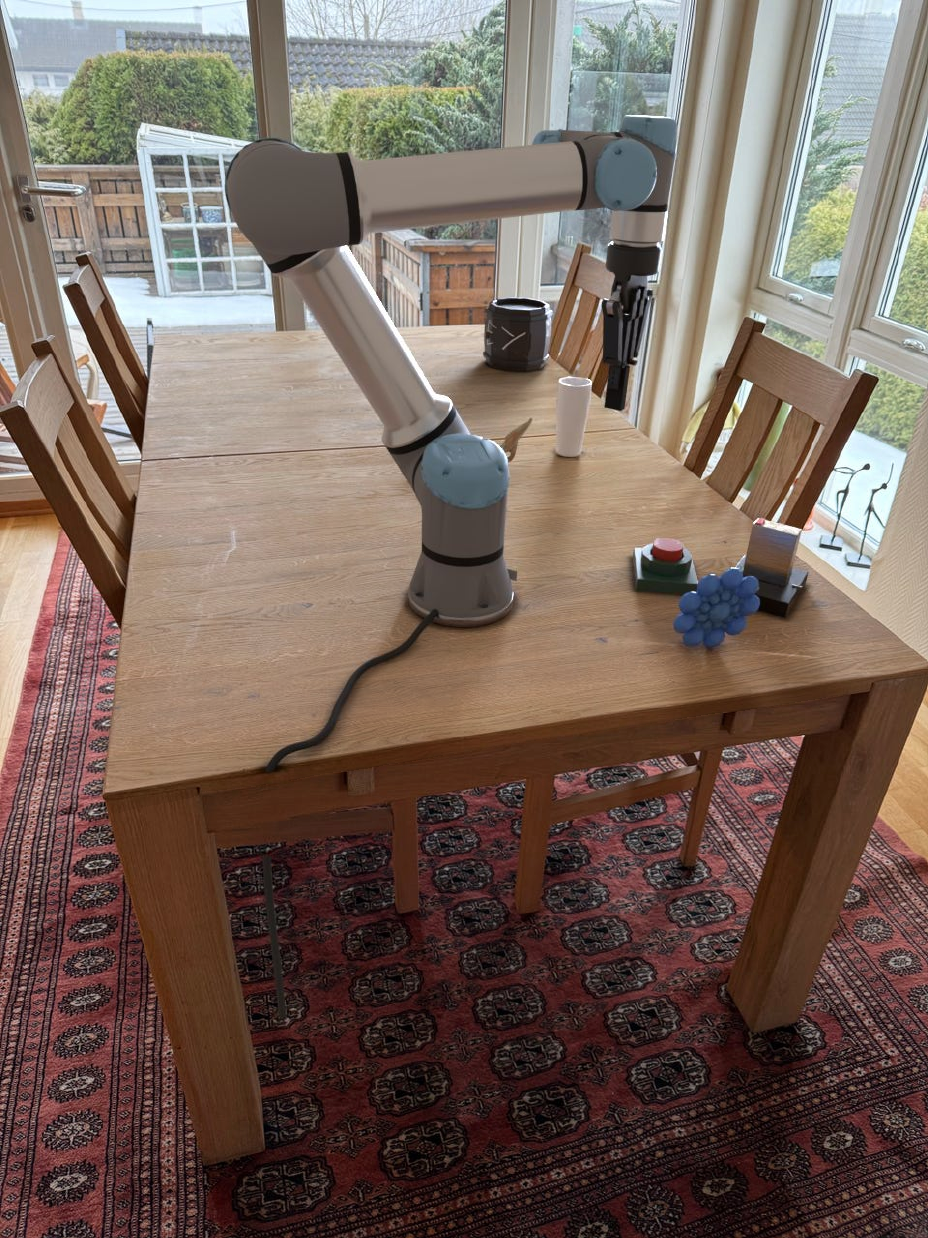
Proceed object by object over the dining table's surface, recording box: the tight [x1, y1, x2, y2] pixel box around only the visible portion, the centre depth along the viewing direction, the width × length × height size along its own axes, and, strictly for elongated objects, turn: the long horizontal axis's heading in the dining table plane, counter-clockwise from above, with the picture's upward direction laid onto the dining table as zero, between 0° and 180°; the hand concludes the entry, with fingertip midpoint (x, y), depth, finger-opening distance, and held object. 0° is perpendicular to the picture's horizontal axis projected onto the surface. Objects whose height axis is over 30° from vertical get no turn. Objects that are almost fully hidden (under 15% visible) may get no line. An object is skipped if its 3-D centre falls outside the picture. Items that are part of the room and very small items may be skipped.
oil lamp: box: [499, 417, 533, 463], centre depth 178 cm, size 9×21×10 cm, turn 93°
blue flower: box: [672, 567, 760, 648], centre depth 123 cm, size 12×7×12 cm, turn 98°
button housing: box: [632, 543, 698, 595], centre depth 142 cm, size 11×9×4 cm
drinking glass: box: [554, 376, 593, 458], centre depth 185 cm, size 7×7×15 cm
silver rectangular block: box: [743, 517, 803, 587], centre depth 136 cm, size 6×3×9 cm, turn 58°
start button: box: [652, 537, 685, 561], centre depth 140 cm, size 5×5×2 cm
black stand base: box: [730, 554, 809, 619], centre depth 139 cm, size 12×11×3 cm
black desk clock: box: [482, 296, 554, 372], centre depth 243 cm, size 18×18×16 cm
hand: (614, 407), depth 139 cm, fingers closed
